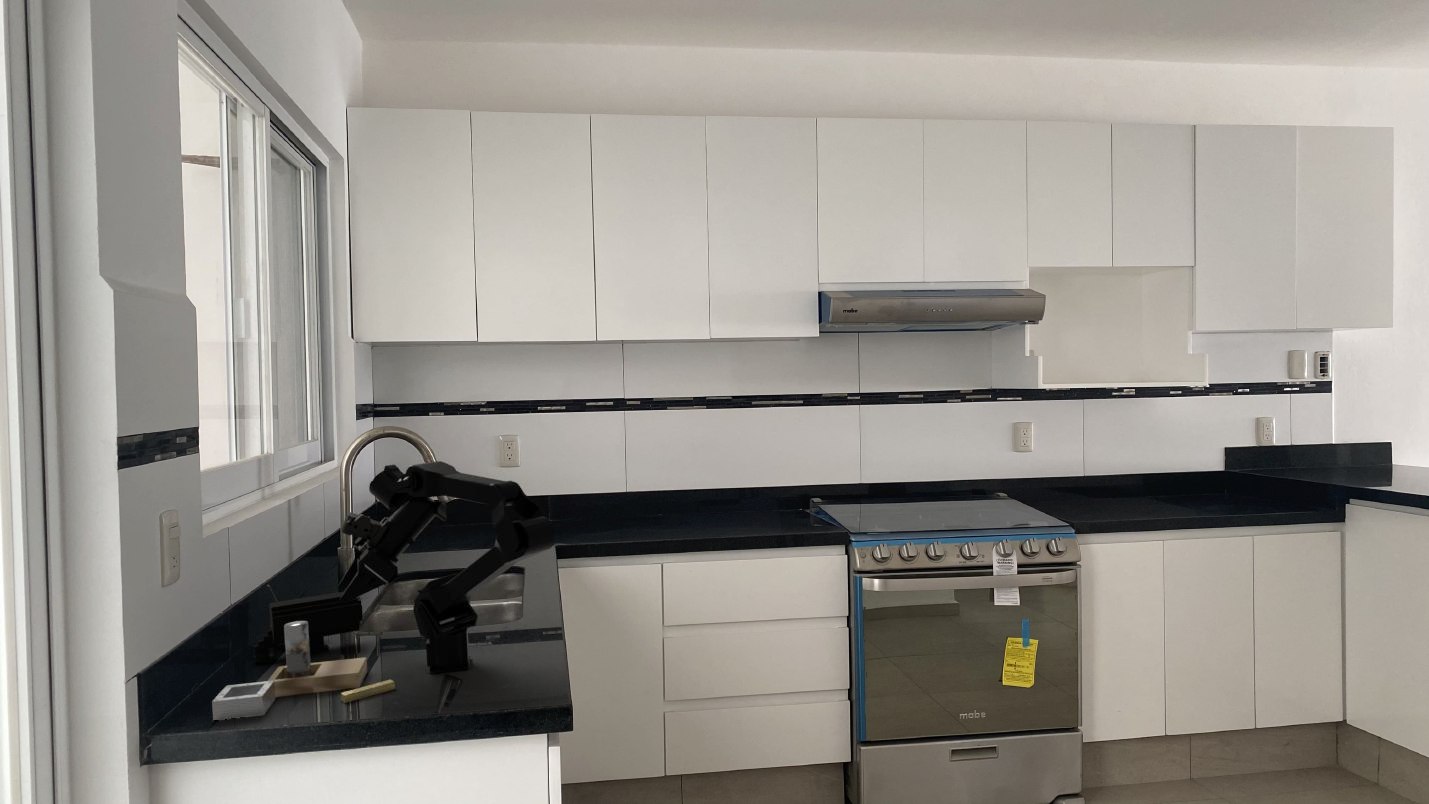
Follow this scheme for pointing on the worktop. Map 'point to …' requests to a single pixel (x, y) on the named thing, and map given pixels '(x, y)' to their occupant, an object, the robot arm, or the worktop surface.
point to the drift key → (367, 691)
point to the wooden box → (321, 677)
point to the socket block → (244, 700)
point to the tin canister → (297, 649)
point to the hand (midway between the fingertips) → (340, 595)
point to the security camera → (309, 622)
